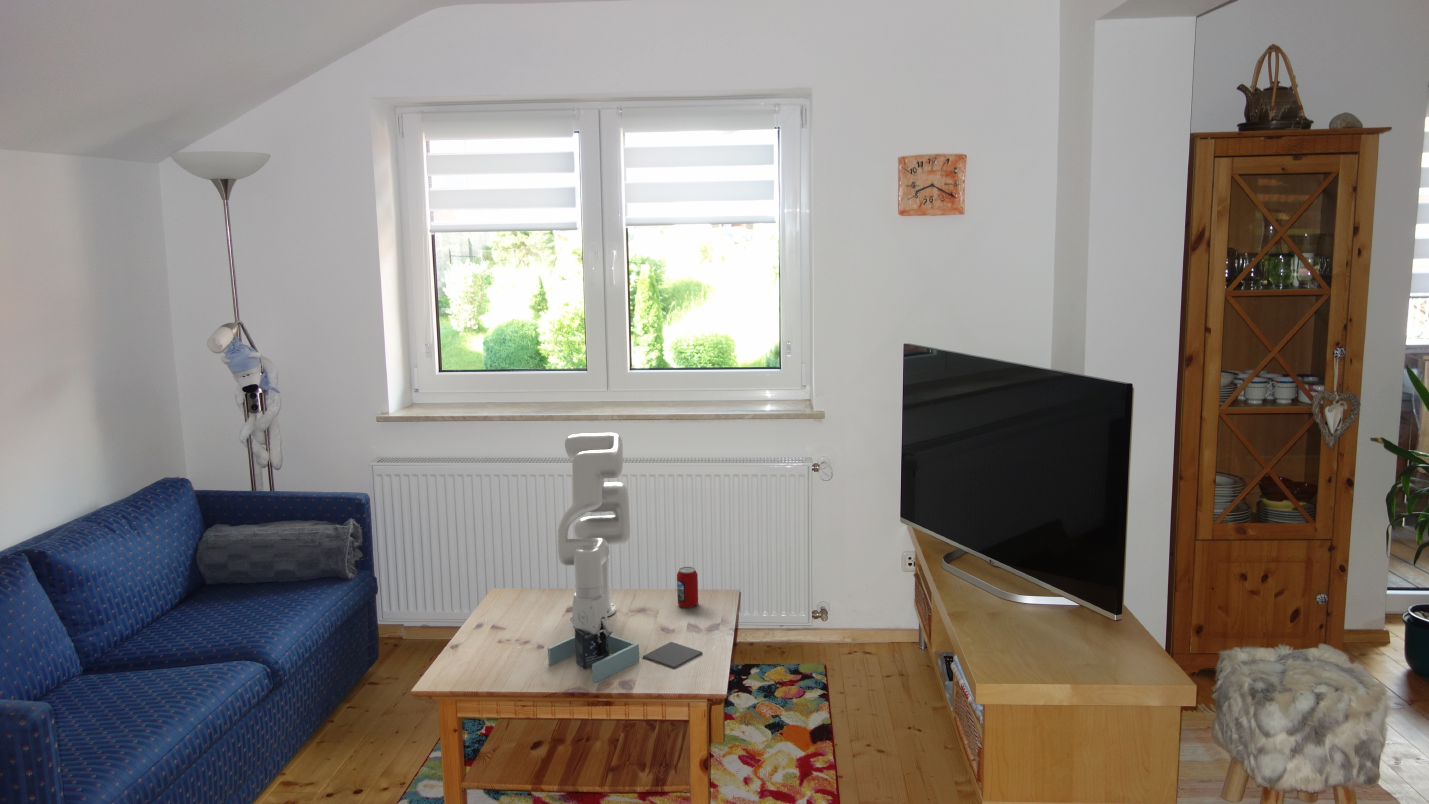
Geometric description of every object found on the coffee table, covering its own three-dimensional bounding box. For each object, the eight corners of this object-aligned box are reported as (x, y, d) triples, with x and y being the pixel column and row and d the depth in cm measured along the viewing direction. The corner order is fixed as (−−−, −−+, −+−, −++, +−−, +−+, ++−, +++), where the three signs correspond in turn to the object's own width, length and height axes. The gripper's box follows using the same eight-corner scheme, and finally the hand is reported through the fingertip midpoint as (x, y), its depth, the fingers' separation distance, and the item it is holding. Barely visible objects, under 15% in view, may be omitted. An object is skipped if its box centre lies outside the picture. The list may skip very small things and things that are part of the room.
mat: (643, 657, 266) (642, 655, 266) (671, 643, 275) (671, 641, 275) (674, 668, 258) (674, 666, 258) (702, 653, 267) (702, 651, 267)
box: (584, 670, 259) (582, 634, 257) (575, 663, 263) (573, 627, 262) (609, 662, 263) (608, 627, 261) (600, 656, 268) (599, 620, 266)
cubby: (548, 664, 263) (547, 647, 262) (592, 643, 276) (592, 627, 275) (595, 682, 251) (594, 665, 250) (639, 660, 264) (638, 643, 263)
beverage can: (677, 601, 308) (676, 566, 306) (697, 600, 308) (696, 565, 306) (678, 609, 301) (677, 573, 299) (699, 607, 302) (698, 572, 300)
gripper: (558, 587, 262) (561, 647, 265) (601, 601, 251) (604, 663, 254) (578, 580, 268) (581, 639, 271) (621, 592, 257) (623, 654, 260)
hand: (592, 650), depth 262 cm, fingers closed on box, 6 cm apart
